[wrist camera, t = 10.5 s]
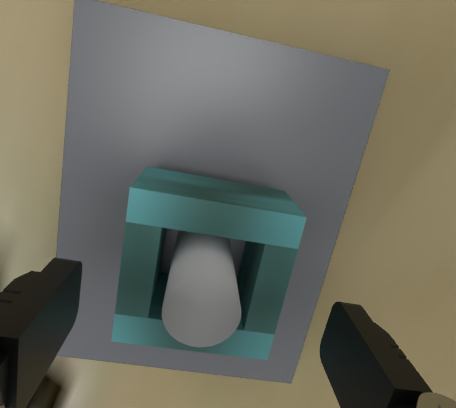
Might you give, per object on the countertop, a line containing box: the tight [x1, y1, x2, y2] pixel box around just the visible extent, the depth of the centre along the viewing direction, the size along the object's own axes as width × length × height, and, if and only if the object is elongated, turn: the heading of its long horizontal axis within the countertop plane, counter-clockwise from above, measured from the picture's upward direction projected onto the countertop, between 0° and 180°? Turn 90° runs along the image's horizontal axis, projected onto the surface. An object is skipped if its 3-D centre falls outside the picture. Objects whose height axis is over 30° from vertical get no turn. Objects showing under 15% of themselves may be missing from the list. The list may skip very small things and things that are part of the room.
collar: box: [111, 166, 307, 360], centre depth 14 cm, size 6×6×4 cm
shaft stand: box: [56, 0, 390, 383], centre depth 15 cm, size 14×18×9 cm
